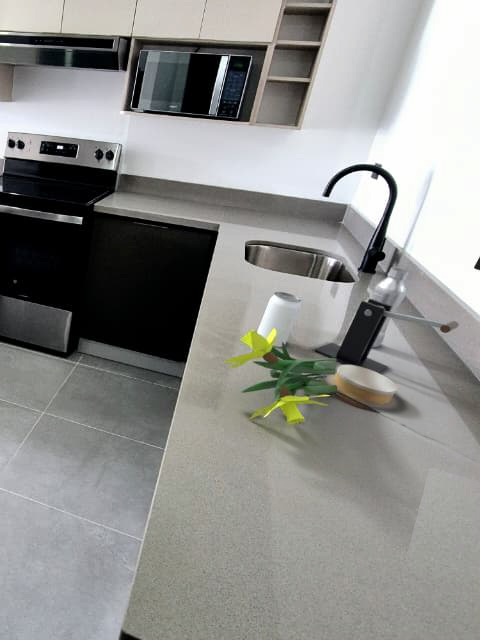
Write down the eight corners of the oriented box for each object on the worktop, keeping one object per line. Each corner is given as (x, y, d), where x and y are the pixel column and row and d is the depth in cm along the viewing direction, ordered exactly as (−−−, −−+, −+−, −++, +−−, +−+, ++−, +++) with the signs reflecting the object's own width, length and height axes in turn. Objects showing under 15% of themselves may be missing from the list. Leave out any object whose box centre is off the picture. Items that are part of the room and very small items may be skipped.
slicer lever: (456, 331, 101) (460, 320, 100) (448, 335, 98) (452, 324, 97) (369, 313, 112) (372, 302, 112) (359, 316, 109) (362, 305, 109)
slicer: (385, 371, 113) (416, 311, 107) (369, 379, 108) (401, 317, 102) (330, 347, 122) (355, 291, 115) (313, 354, 116) (339, 295, 110)
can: (279, 352, 115) (299, 304, 110) (251, 340, 119) (268, 294, 114) (287, 344, 120) (306, 298, 115) (259, 334, 123) (276, 289, 118)
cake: (386, 387, 106) (394, 371, 104) (411, 422, 93) (421, 405, 92) (313, 368, 109) (320, 353, 108) (328, 400, 97) (337, 383, 95)
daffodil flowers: (377, 417, 94) (316, 429, 71) (292, 417, 105) (214, 428, 81) (363, 328, 97) (299, 312, 73) (281, 337, 107) (203, 326, 84)
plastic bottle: (348, 344, 125) (384, 268, 117) (349, 336, 130) (383, 263, 122) (378, 353, 122) (417, 277, 114) (378, 345, 127) (415, 271, 119)
